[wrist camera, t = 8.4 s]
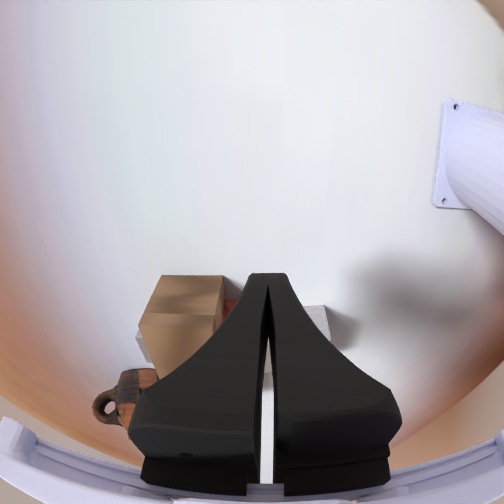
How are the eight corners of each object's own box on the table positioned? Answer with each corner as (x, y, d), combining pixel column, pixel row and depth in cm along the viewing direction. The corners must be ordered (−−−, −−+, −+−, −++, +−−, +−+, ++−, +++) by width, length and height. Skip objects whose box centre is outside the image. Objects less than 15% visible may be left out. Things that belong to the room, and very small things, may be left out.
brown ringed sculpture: (180, 362, 30) (192, 437, 26) (189, 377, 38) (199, 435, 34) (78, 369, 28) (84, 440, 24) (106, 382, 36) (112, 439, 32)
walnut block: (222, 275, 23) (211, 329, 18) (234, 371, 29) (229, 419, 24) (161, 275, 24) (137, 325, 19) (186, 369, 30) (176, 415, 25)
